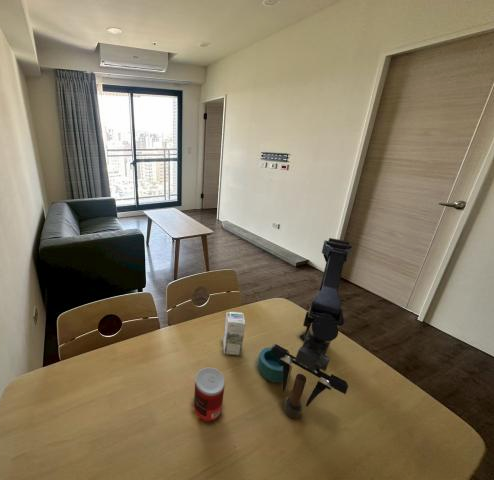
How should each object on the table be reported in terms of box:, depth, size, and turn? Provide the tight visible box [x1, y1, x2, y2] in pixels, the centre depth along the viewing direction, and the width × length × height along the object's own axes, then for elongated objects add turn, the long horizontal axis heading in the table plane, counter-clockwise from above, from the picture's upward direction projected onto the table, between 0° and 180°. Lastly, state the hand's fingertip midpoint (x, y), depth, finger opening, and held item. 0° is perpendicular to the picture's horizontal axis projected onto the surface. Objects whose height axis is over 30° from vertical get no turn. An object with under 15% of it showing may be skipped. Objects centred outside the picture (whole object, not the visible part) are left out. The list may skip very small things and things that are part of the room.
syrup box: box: [222, 311, 247, 356], centre depth 87 cm, size 6×6×14 cm
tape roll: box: [257, 346, 283, 383], centre depth 81 cm, size 9×9×5 cm
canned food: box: [193, 367, 226, 422], centre depth 68 cm, size 8×8×11 cm
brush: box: [283, 373, 307, 420], centre depth 67 cm, size 4×4×13 cm
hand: (294, 398), depth 66 cm, fingers open, 6 cm apart
